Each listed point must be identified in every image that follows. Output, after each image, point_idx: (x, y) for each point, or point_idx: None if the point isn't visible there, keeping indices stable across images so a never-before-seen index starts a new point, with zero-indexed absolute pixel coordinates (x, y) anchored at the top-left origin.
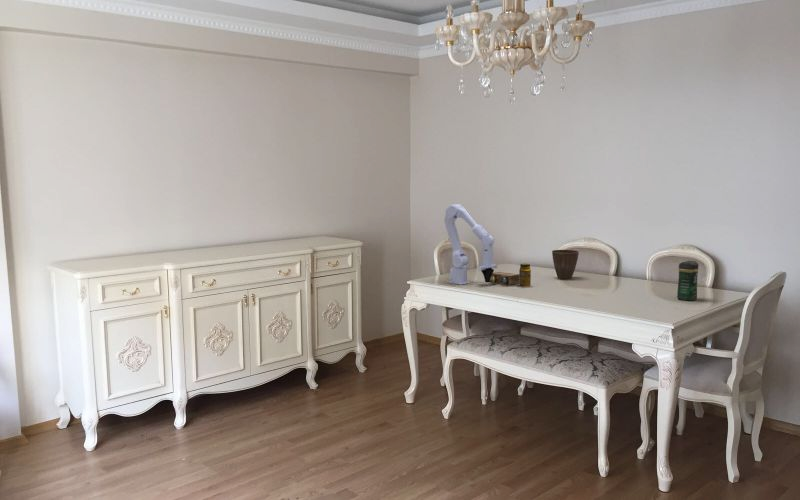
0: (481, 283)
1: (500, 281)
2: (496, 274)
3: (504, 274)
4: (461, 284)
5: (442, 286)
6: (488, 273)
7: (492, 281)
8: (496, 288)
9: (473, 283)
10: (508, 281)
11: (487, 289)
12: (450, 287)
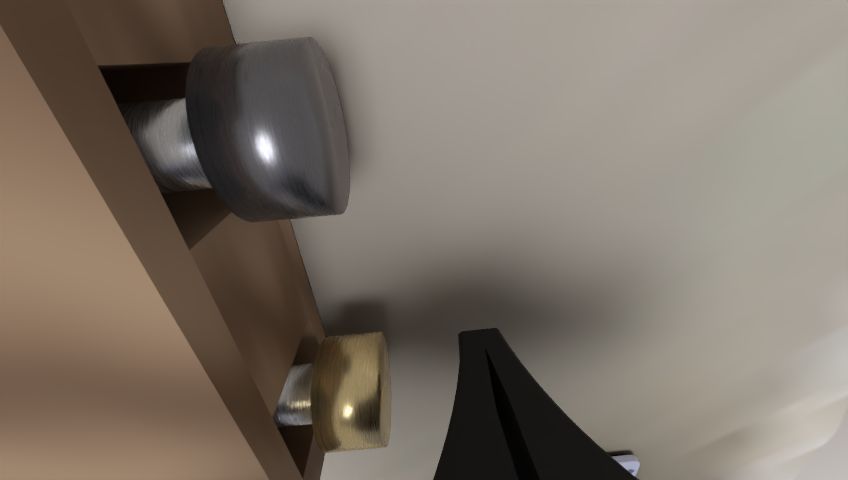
0: (422, 416)
1: (275, 266)
2: (260, 449)
3: (64, 342)
4: (633, 455)
5: (780, 473)
6: (628, 475)
7: (383, 342)
8: (644, 12)
9: None
10: (181, 51)
11: (826, 62)
12: (812, 424)
